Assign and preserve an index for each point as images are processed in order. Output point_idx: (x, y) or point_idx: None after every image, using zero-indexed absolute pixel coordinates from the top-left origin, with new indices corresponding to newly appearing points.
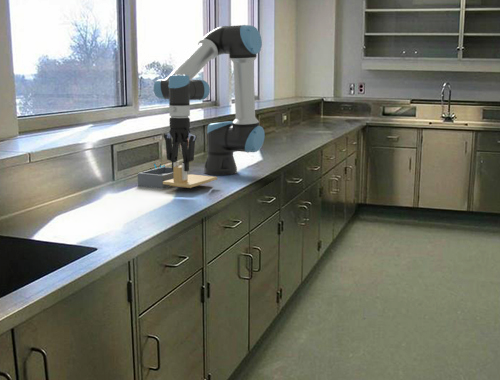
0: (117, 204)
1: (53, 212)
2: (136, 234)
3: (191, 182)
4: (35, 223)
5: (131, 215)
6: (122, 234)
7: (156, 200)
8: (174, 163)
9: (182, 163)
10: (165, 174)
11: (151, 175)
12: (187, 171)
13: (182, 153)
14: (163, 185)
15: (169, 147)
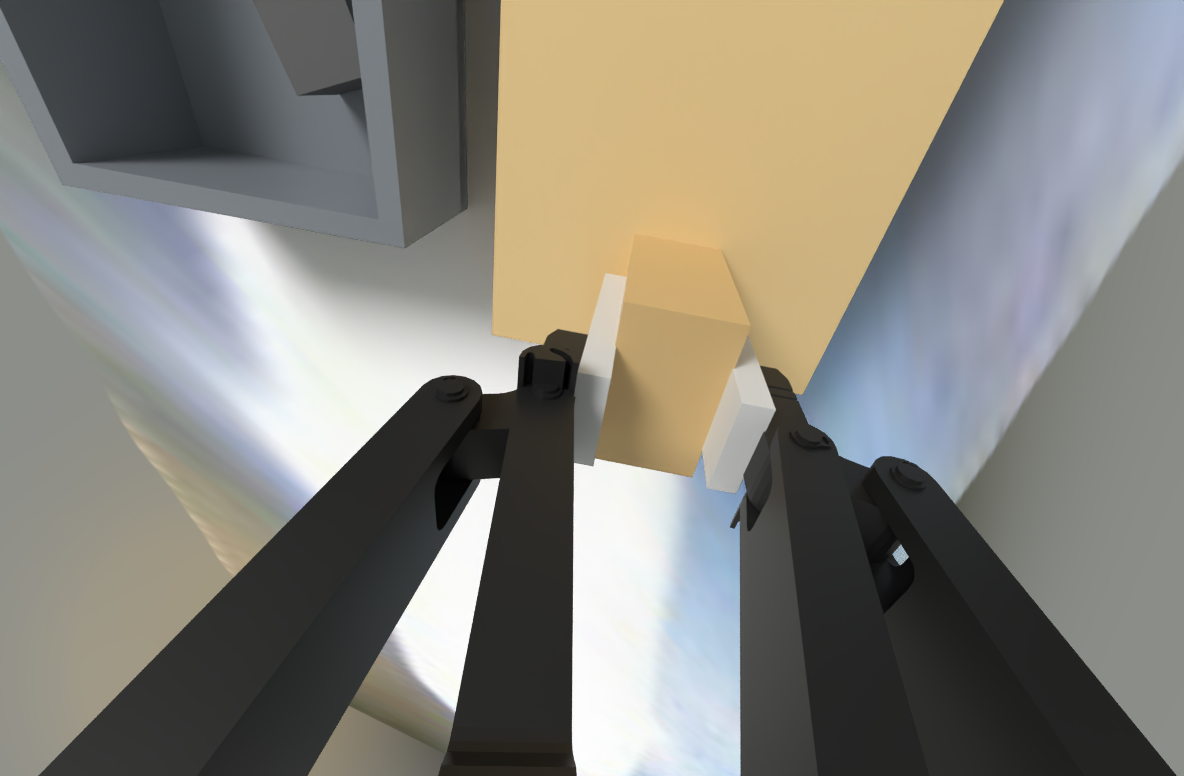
0: (469, 563)
1: None
2: (728, 760)
3: (781, 303)
4: (429, 714)
5: (622, 661)
6: (693, 760)
7: (592, 480)
8: (584, 454)
9: (720, 487)
10: (384, 165)
11: (263, 218)
12: (736, 291)
13: (745, 630)
14: (449, 208)
15: (366, 652)
